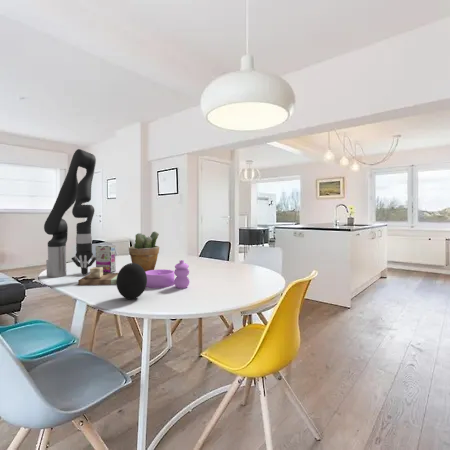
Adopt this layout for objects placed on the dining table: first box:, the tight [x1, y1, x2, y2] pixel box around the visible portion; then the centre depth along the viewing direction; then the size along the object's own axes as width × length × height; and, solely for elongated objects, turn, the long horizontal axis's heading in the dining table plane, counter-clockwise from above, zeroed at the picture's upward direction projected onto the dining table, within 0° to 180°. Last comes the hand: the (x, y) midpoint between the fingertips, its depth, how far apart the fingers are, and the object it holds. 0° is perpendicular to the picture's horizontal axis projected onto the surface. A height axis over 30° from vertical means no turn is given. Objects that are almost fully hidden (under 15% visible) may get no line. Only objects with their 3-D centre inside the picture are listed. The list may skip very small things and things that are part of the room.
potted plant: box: [128, 231, 160, 272], centre depth 187 cm, size 18×19×25 cm
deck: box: [77, 272, 119, 286], centre depth 162 cm, size 24×18×5 cm
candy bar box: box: [95, 244, 116, 273], centre depth 188 cm, size 11×5×16 cm, turn 73°
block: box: [89, 266, 104, 277], centre depth 162 cm, size 5×5×4 cm
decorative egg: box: [115, 262, 147, 300], centre depth 128 cm, size 12×12×15 cm
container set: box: [146, 259, 191, 289], centre depth 152 cm, size 25×15×13 cm, turn 65°
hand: (84, 274), depth 161 cm, fingers closed
